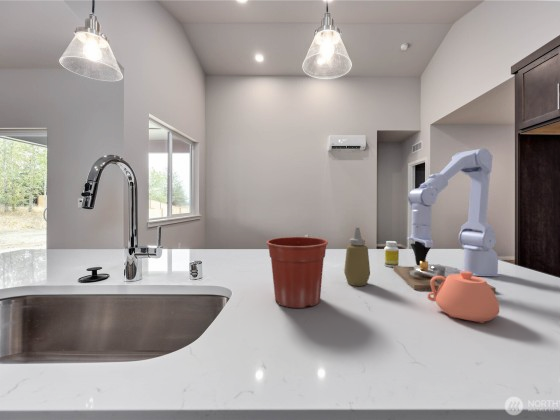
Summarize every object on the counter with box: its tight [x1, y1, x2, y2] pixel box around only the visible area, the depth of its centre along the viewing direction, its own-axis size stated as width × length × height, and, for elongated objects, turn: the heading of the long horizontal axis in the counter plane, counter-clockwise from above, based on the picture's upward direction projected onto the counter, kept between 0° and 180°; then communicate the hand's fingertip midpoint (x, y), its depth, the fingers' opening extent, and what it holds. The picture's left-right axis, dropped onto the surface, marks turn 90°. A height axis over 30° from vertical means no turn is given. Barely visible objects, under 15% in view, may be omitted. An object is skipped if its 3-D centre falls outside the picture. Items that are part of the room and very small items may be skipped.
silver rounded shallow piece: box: [410, 260, 461, 278], centre depth 89 cm, size 17×14×4 cm
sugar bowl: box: [427, 271, 500, 324], centre depth 63 cm, size 12×14×10 cm
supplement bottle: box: [383, 240, 400, 268], centre depth 108 cm, size 5×5×10 cm
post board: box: [392, 265, 497, 294], centre depth 89 cm, size 22×22×6 cm
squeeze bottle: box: [343, 227, 371, 287], centre depth 86 cm, size 8×8×18 cm
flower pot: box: [266, 236, 329, 309], centre depth 72 cm, size 16×16×16 cm
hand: (420, 265), depth 89 cm, fingers closed, pressing on silver rounded shallow piece
